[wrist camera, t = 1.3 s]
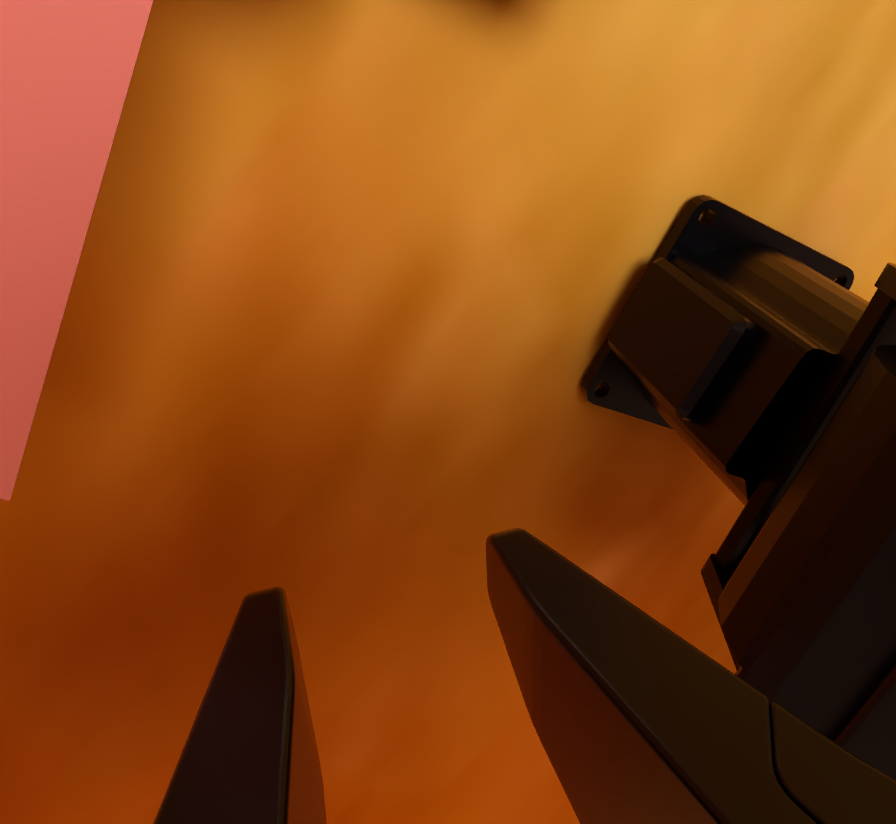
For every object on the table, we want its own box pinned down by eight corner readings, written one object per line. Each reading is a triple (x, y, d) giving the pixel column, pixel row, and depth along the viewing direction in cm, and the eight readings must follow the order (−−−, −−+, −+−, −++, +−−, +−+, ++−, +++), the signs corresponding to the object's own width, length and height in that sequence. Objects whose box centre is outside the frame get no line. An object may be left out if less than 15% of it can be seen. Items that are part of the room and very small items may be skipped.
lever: (45, -835, 7) (14, -1015, 6) (363, -558, 9) (401, -646, 7) (-163, 396, 12) (-207, 463, 11) (58, 442, 14) (45, 506, 12)
